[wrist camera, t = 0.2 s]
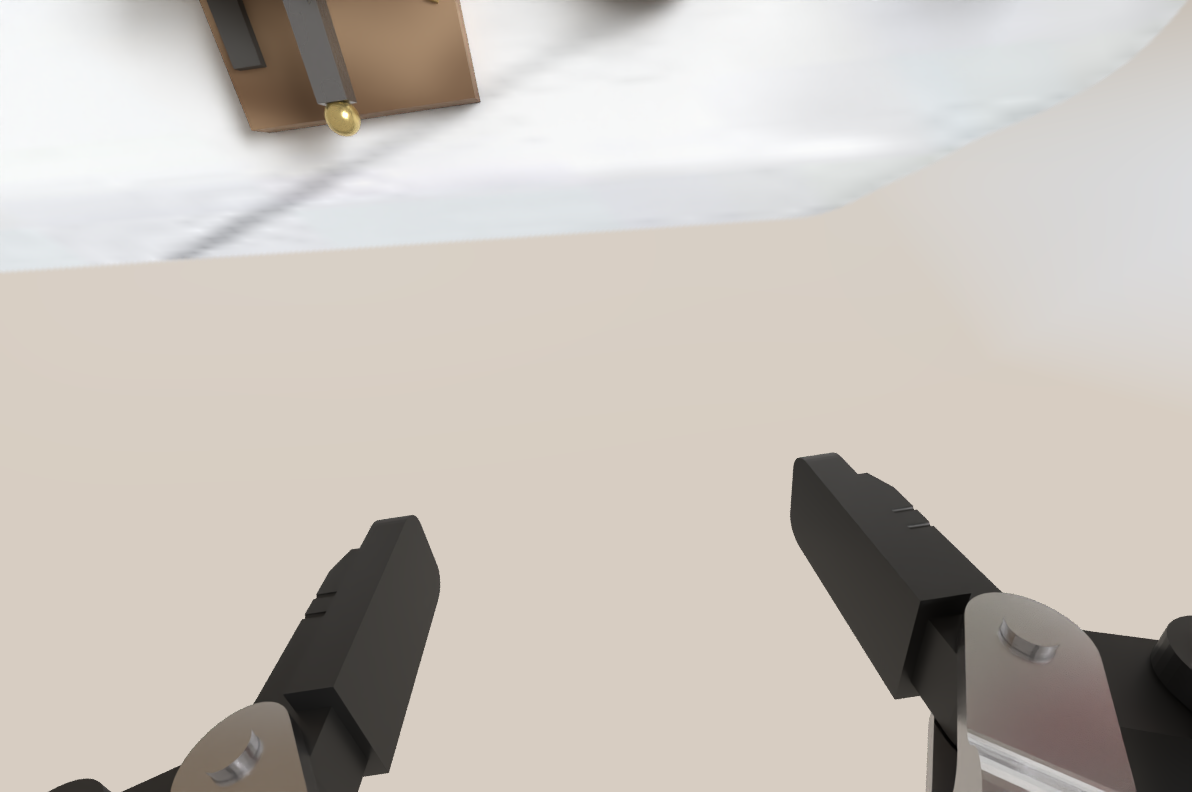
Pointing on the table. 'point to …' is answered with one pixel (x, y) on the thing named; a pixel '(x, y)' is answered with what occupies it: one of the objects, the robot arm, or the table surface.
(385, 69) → the stand
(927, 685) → the robot arm
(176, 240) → the table surface
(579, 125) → the table surface
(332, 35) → the capstan
